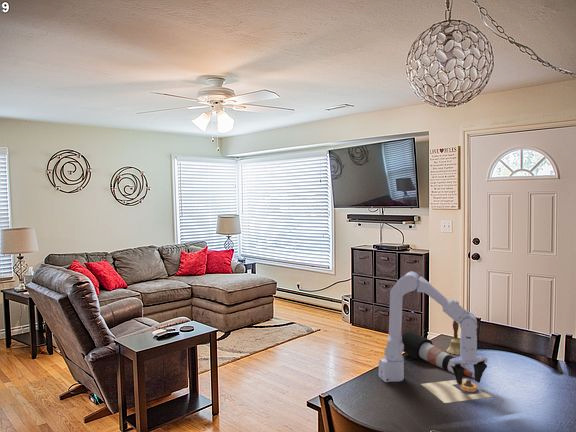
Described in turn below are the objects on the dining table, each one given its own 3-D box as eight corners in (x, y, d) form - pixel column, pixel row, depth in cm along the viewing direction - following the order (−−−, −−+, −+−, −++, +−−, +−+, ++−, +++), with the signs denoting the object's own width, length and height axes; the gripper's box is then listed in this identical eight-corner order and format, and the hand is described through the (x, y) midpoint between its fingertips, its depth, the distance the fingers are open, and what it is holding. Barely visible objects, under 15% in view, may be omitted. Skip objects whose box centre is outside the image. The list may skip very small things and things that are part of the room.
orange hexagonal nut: (466, 395, 159) (466, 388, 159) (457, 389, 164) (457, 382, 164) (479, 394, 160) (479, 387, 160) (470, 387, 165) (470, 381, 165)
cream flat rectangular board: (444, 406, 151) (444, 393, 151) (420, 387, 166) (420, 375, 166) (494, 399, 155) (494, 387, 155) (466, 381, 171) (466, 370, 171)
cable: (465, 392, 171) (459, 373, 168) (403, 356, 201) (397, 339, 197) (481, 376, 175) (476, 357, 172) (418, 343, 205) (412, 326, 201)
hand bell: (468, 355, 199) (468, 320, 199) (450, 355, 199) (450, 321, 198) (460, 348, 208) (460, 315, 207) (443, 349, 207) (443, 316, 207)
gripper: (457, 352, 156) (457, 389, 156) (492, 348, 159) (492, 385, 159) (446, 345, 163) (446, 381, 163) (480, 342, 166) (480, 377, 166)
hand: (468, 382), depth 162 cm, fingers open, 7 cm apart
